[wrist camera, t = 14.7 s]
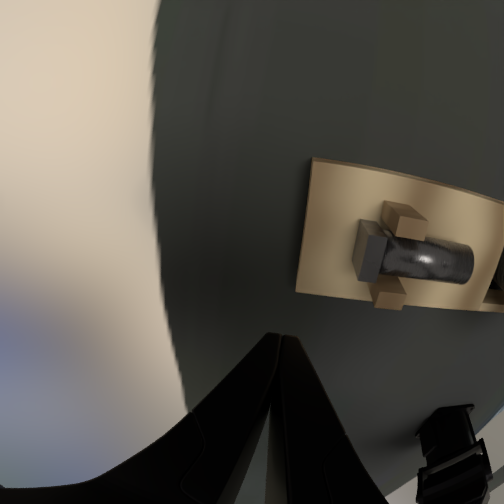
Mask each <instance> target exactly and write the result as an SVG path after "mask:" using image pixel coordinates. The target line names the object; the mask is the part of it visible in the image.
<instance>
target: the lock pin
mask: <svg viewBox="0 0 504 504" xmlns="http://www.w3.org/2000/svg"><path fill="white" fill-rule="evenodd" d="M352 263H353V266H354V270H355V273H356V277H357V280H358V281H362V282H370V283H376V281H377V277H378V274H381V275H389V276H396V277H404V278H412V279H420V280H427V281H435V282H443V283H451V284H459V285H464V284H466V283H467V282H468V281H469V279H470V278H471V276H472V273H473V269H474V253H473V250H472V248H471V247H470V246H469V245H466V244H461V243H456V242H451V241H446V240H441V239H436V238H431V237H425V239H424V241H420V240H415V239H409V238H403V237H397V236H395V235H394V234H393V232H392V231H391V230H385V229H382V228H381V227H380V226H379V224H378V223H377V221H370V220H364V219H360V221H359V226H358V231H357V236H356V241H355V246H354V251H353V255H352Z"/></svg>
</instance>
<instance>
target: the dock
mask: <svg viewBox="0 0 504 504" xmlns="http://www.w3.org/2000/svg"><path fill="white" fill-rule="evenodd" d="M360 219H364V220H370V221H377V223H378V224H379V226H380V227H381V228H382V229H385V230H391V231H392V232H393V234H394V235H395V236H397V237H403V238H409V239H415V240H420V241H424V239H425V237H431V238H436V239H441V240H446V241H451V242H456V243H461V244H466V245H469V246H470V247H471V248H472V250H473V253H474V269H473V273H472V276H471V278H470V279H469V281H468V282H467V283H466V284H464V285H459V284H451V283H443V282H435V281H427V280H420V279H412V278H404V277H396V276H389V275H381V274H378V277H377V281H376V283H370V282H362V281H358V280H357V277H356V273H355V270H354V266H353V263H352V255H353V251H354V246H355V241H356V236H357V231H358V226H359V221H360ZM503 247H504V202H503V201H500V200H497V199H494V198H491V197H488V196H485V195H482V194H479V193H476V192H473V191H469V190H466V189H463V188H459V187H456V186H452V185H449V184H445V183H441V182H438V181H434V180H430V179H426V178H422V177H418V176H414V175H409V174H405V173H400V172H396V171H391V170H386V169H381V168H376V167H371V166H366V165H360V164H354V163H349V162H342V161H336V160H329V159H322V158H315V157H312V162H311V172H310V181H309V189H308V198H307V206H306V214H305V222H304V229H303V236H302V244H301V251H300V257H299V264H298V271H297V280H296V291H295V292H300V293H308V294H316V295H323V296H331V297H339V298H348V299H356V300H365V301H373V304H374V308H383V309H393V310H401V309H402V307H403V305H412V306H423V307H434V308H446V309H458V310H472V311H486V312H503V313H504V291H503V290H495V289H488V288H489V286H490V283H491V281H492V278H493V276H494V273H495V270H496V268H497V265H498V262H499V259H500V256H501V253H502V250H503Z"/></svg>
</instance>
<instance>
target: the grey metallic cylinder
mask: <svg viewBox="0 0 504 504" xmlns="http://www.w3.org/2000/svg"><path fill="white" fill-rule="evenodd" d="M492 279H493V280H494V281H495V282H496V283H497V284H498V286H499V287H500V288H501V289H502V290H503V291H504V247H503V250H502V253H501V256H500V259H499V262H498V265H497V268H496V270H495V273H494V276H493V278H492Z"/></svg>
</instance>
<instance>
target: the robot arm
mask: <svg viewBox="0 0 504 504" xmlns="http://www.w3.org/2000/svg"><path fill="white" fill-rule="evenodd" d="M271 399H272V400H271ZM270 404H271V406H270ZM269 408H270V416H269V436H268V455H267V473H266V489H265V503H264V504H389V503H388V502H387V500H386V499H385V497H384V496H383V495H382V493H381V492H380V490H379V489H378V487H377V486H376V485H375V483H374V482H373V480H372V479H371V477H370V475H369V474H368V472H367V471H366V469H365V468H364V466H363V464H362V463H361V461H360V459H359V457H358V455H357V453H356V452H355V450H354V448H353V446H352V444H351V442H350V440H349V438H348V436H347V435H345V433H346V432H345V430H344V428H343V426H342V424H341V422H340V420H339V418H338V416H337V413H336V411H335V409H334V407H333V405H332V403H331V401H330V399H329V397H328V395H327V393H326V391H325V389H324V387H323V385H322V383H321V381H320V379H319V377H318V375H317V373H316V371H315V369H314V367H313V365H312V363H311V361H310V359H309V357H308V355H307V353H306V351H305V349H304V347H303V345H302V343H301V341H300V339H299V337H298V336H292V335H283V337H282V335H281V334H278V333H271V332H268V333H266V334H265V335H264V336H263V337H262V339H261V340H260V341H259V342H258V343H257V344H256V345H255V346H254V347H253V348H252V349H251V350H250V352H249V353H248V354H247V355H246V356H245V357H244V358H243V359H242V360H241V361H240V362H239V363H238V364H237V365H236V366H235V367H234V368H233V369H232V370H231V371H230V372H229V373H228V375H227V376H226V377H225V378H224V379H223V380H222V381H221V382H220V383H219V384H218V385H217V386H216V387H215V388H214V389H213V390H212V391H211V392H210V393H209V394H208V395H207V396H206V397H205V398H204V399H203V400H202V401H201V402H199V403H198V404H197V405H196V406H195V407H194V408H193V409H192V412H189V413H188V414H187V415H186V416H185V417H184V418H183V419H182V420H181V421H179V422H178V423H177V424H176V425H175V426H174V427H172V428H171V429H170V430H169V431H168V432H167V433H165V434H164V435H163V436H162V437H160V438H159V439H157V440H156V441H155V442H153V443H152V444H150V445H149V446H148V447H146V448H145V449H143V450H142V451H140V452H138V453H137V454H135V455H134V456H132V457H131V458H129V459H127V460H126V461H124V462H122V463H121V464H119V465H118V466H116V467H114V468H112V469H111V470H109V471H107V472H106V473H104V474H102V475H100V476H98V477H96V478H94V479H91V480H88V481H85V482H81V483H76V484H70V485H61V486H51V487H38V488H5V487H3V486H2V485H0V504H234V502H235V500H236V497H237V495H238V493H239V490H240V488H241V485H242V483H243V480H244V478H245V475H246V473H247V470H248V468H249V465H250V462H251V460H252V457H253V454H254V452H255V449H256V446H257V444H258V441H259V438H260V435H261V432H262V430H263V427H264V424H265V421H266V418H267V415H268V412H269ZM474 408H475V406H474V404H472V405H465V406H458V407H449V408H440V409H438V410H437V411H436V412H435V413H434V414H433V415H432V416H431V418H430V419H429V420H428V421H427V422H426V423H425V425H424V426H423V427H422V428H421V429H420V430H419V431H418V432H417V433H416V435H415V436H416V438H420V441H421V447H422V453H423V457H426V461H427V466H426V467H424V468H423V467H422V468H420V469H419V473H417V476H418V489H417V495H416V503H418V504H487V503H488V501H489V499H490V494H489V488H488V483H489V482H490V481H492V480H493V475H492V471H491V466H490V462H489V458H488V454H487V450H486V447H485V443H484V440H483V438H481V439H479V441H476V438H475V434H474V431H473V427H472V424H471V421H470V418H469V414H470V413H471V412H472V410H473V409H474ZM480 453H483V454H482V455H481V454H480Z"/></svg>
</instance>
